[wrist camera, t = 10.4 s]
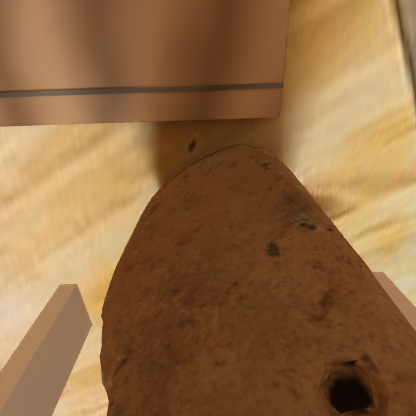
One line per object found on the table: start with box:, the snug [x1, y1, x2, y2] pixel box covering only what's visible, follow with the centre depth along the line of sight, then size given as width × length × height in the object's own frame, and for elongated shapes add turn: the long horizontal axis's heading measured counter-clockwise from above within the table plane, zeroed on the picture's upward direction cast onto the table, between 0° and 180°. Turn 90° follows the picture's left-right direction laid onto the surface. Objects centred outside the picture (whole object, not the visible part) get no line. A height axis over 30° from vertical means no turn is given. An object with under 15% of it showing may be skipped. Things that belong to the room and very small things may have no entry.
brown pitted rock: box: [100, 144, 416, 416], centre depth 14 cm, size 11×8×20 cm
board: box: [0, 0, 291, 127], centre depth 16 cm, size 24×10×2 cm, turn 92°
